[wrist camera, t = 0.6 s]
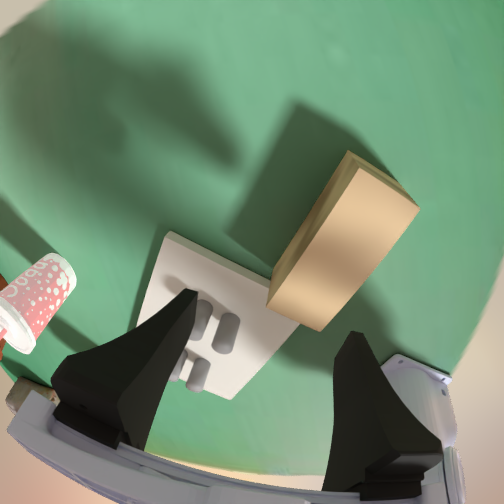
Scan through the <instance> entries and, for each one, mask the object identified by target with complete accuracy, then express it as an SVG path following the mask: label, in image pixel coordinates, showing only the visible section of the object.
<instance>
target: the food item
mask: <svg viewBox="0 0 504 504" xmlns="http://www.w3.org/2000/svg"><path fill="white" fill-rule="evenodd" d="M31 390H34V391H36V392H37V393H39V394H41V395H42V396H44V397H46V398H47V399H49V400H50V401H52V402H53V403H54V404H56V406H57V405H58V404H59V402H60V399H59V398H58V396H57V394H56V392H55V390H54V389H51V388H48V387H45V386H42V385H40V384H37V383H35V382H32V381H30V380H28V379H25V378H23V377H21V376H20V377H18V380H17V381H16V382H15V384H14V386H13V387H12V389H11V390H10V393H9V394H8V396H7V398H6V400H5V401H6V404H7V406H8V407H9V409H10V410H11V412H13V413H14V414H15V415H16V413H17V412H18V410H19V409H20V407H21V405H22V404H23V402H24V401H25V399H26V398H27V396H28V395H29V393H30V392H31Z"/></svg>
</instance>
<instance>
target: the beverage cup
mask: <svg viewBox="0 0 504 504" xmlns="http://www.w3.org/2000/svg"><path fill="white" fill-rule="evenodd" d="M75 286H76V276H75V273H74V271H73V269H72V267H71V266H70V264H69V263H68V262H67V261H66V260H65V259H64V258H63V257H61V256H60V255H58V254H55V253H49V254H47V255H46V256H44V257H43V258H42V259H40V260H39V261H38V262H36V263H35V264H34V265H32V266H31V267H30V268H29V269H27V270H26V271H25V272H24V273H22V274H21V275H20V276H19V277H17V278H16V279H15V280H14V281H12V282H11V283H10V284H9V285H8V286H6V287H5V288H4V289H3V290H2V291H1V292H0V340H1V339H2V338H4V339H5V340H6V341H7V342H8V343H9V344H10V345H11V346H12V347H14V348H15V349H16V350H18V351H20V352H22V353H24V354H30V352H31V351H32V350H33V348H34V347H35V345H36V342H35V341H36V339H37V338H38V336H39V335H40V334H41V332H42V331H43V329H44V328H45V326H46V325H47V324H48V322H49V321H50V320H51V318H52V317H53V315H54V314H55V313H56V311H57V310H58V309H59V307H60V306H61V305H62V303H63V302H64V301H65V299H66V298H67V297H68V295H69V294H70V293H71V292H72V290H73V289H74V288H75Z"/></svg>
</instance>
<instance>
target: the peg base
mask: <svg viewBox="0 0 504 504" xmlns="http://www.w3.org/2000/svg"><path fill="white" fill-rule="evenodd" d="M270 282H271V281H270V280H268V279H266V278H264V277H262V276H260V275H258V274H256V273H254V272H252V271H250V270H248V269H246V268H244V267H242V266H240V265H238V264H236V263H234V262H232V261H230V260H228V259H226V258H224V257H222V256H220V255H218V254H216V253H214V252H212V251H210V250H208V249H206V248H204V247H202V246H200V245H198V244H196V243H194V242H192V241H190V240H188V239H186V238H184V237H182V236H180V235H178V234H176V233H174V232H172V231H169V232H168V233H167V234H166V236H165V237H164V240H163V243H162V246H161V249H160V252H159V255H158V258H157V261H156V264H155V267H154V270H153V273H152V276H151V279H150V282H149V285H148V289H147V292H146V295H145V298H144V302H143V305H142V308H141V312H140V315H139V319H138V322H137V326H139V325H140V324H142V323H143V322H145V321H146V320H147V319H149V318H150V317H151V316H153V315H154V314H156V313H157V312H158V311H159V310H160V309H162V308H163V307H164V306H165V305H167V304H168V303H169V302H170V301H171V300H172V299H173V298H175V297H176V296H177V295H178V294H179V293H180V292H181V291H182V290H183V289H185V288H187V289H191V290H194V291H198V300H197V308H196V316H195V324H194V326H193V329H192V332H191V335H190V337H189V340H188V342H187V344H186V346H185V348H184V350H183V352H182V354H181V356H180V358H179V360H178V362H177V364H176V366H175V368H174V369H173V371H172V373H171V375H170V377H169V379H168V380H169V381H172V382H176V381H177V380H178V378H180V379H182V380H184V381H186V387H187V388H188V389H189V390H190V391H193V392H202V390H203V389H204V390H207V391H209V392H211V393H214V394H216V395H219V396H221V397H224V398H226V399H229V400H231V399H232V398H233V397H234V396H235V395H236V394H237V393H238V392H239V391H240V390H241V389H242V388H243V386H244V385H245V384H246V383H247V382H248V381H249V380H250V379H251V378H252V377H253V376H254V375H255V374H256V373H257V372H258V371H259V369H260V368H261V367H262V366H263V365H264V364H265V363H266V362H267V361H268V360H269V359H270V357H271V356H272V355H273V354H274V353H275V352H276V351H277V350H278V349H279V347H280V346H281V345H282V344H283V343H284V342H285V341H286V340H287V338H288V337H289V336H290V335H291V334H292V333H293V331H294V330H295V329H296V328H297V327H298V326H299V325H300V323H298V322H296V321H294V320H292V319H289V318H287V317H285V316H283V315H281V314H279V313H276V312H274V311H272V310H270V309H268V308H266V303H267V298H268V292H269V287H270ZM137 326H136V327H137Z"/></svg>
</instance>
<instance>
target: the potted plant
mask: <svg viewBox="0 0 504 504" xmlns="http://www.w3.org/2000/svg"><path fill="white" fill-rule="evenodd" d="M6 286H8V284H7V282H6V281H5V279H4V278H3V276H2V275H1V274H0V292H1V291H2V290H3V289H4V288H5V287H6ZM5 343H6V340H5V339H4V338H2V339H1V340H0V361H1V359H2V356H3V354H2V350H3V347H4V345H5Z"/></svg>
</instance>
